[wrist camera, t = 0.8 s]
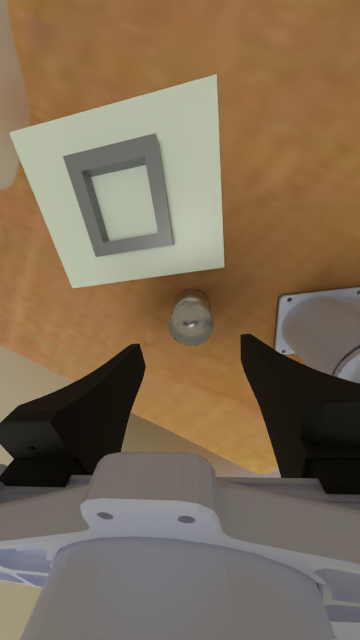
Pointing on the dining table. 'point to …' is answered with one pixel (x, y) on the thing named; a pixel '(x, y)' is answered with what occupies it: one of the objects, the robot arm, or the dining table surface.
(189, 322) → the key peg
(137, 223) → the socket
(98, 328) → the dining table surface
